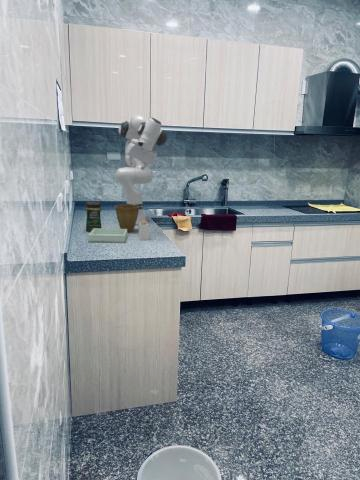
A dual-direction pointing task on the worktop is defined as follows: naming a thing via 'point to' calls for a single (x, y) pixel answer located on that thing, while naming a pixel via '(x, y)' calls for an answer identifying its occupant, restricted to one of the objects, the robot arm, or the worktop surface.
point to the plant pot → (127, 216)
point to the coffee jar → (93, 215)
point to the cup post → (143, 231)
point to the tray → (108, 235)
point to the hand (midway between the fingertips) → (136, 167)
